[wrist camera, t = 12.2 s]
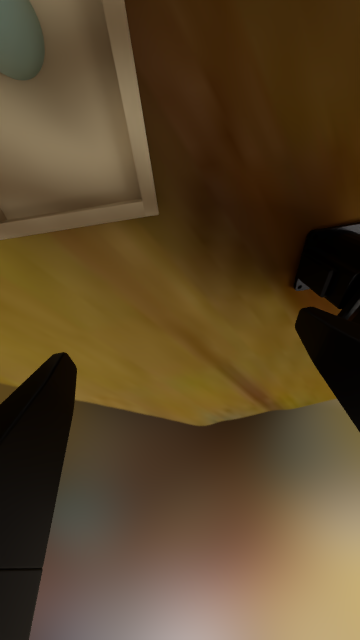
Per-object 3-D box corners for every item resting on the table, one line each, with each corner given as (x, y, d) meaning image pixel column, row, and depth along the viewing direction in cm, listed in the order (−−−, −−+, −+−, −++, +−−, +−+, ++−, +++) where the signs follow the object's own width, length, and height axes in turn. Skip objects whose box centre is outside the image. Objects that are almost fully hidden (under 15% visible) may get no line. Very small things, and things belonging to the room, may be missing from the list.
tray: (-508, -582, 5) (-779, -888, 3) (27, -583, 5) (-15, -851, 4) (6, 233, 16) (-7, 240, 15) (157, 209, 17) (158, 214, 15)
